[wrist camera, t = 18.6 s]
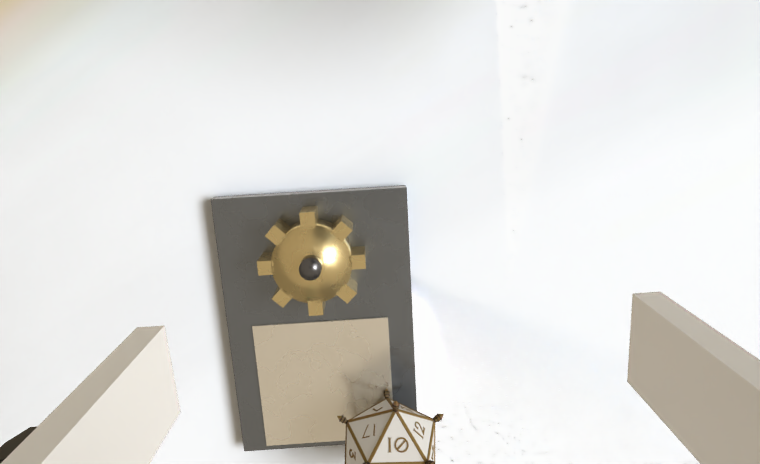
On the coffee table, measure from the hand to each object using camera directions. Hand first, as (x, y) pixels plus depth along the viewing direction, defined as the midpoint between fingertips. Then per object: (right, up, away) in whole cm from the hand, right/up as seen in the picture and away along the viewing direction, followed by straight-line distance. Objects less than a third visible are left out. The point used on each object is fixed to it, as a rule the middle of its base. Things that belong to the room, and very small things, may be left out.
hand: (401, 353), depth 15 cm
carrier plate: (-5, -4, +29) cm, 30 cm away
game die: (-4, -11, +26) cm, 28 cm away
